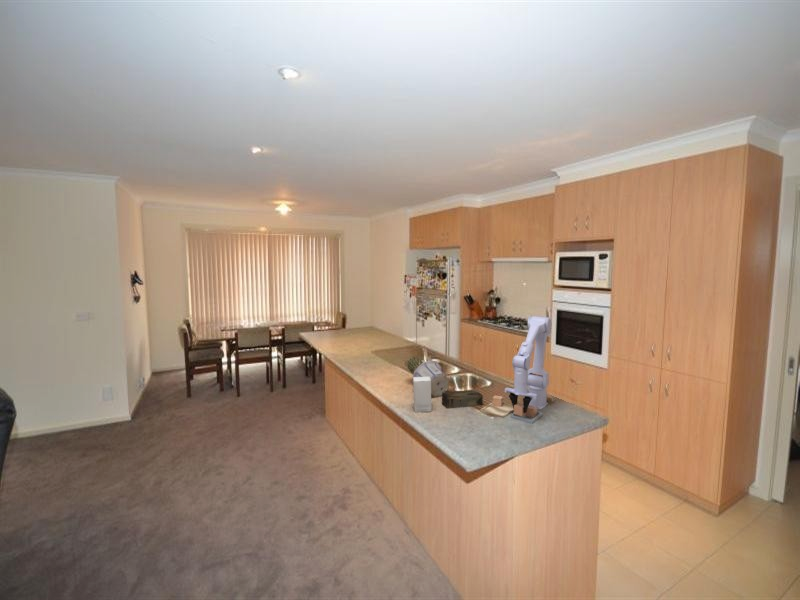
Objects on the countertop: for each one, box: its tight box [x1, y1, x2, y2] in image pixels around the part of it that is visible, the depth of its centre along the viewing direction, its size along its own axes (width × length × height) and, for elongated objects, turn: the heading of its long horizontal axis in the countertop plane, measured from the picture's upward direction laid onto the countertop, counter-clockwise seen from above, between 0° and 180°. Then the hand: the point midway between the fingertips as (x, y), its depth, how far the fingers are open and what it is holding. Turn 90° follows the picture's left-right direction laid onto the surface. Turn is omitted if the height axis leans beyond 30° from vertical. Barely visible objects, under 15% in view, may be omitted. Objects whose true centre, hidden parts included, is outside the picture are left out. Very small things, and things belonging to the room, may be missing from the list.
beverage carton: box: [441, 389, 484, 410], centre depth 192 cm, size 8×19×7 cm, turn 102°
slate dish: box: [509, 411, 543, 425], centre depth 177 cm, size 12×10×2 cm
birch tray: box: [479, 401, 514, 419], centre depth 185 cm, size 16×12×1 cm
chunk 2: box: [513, 402, 526, 416], centre depth 176 cm, size 4×4×4 cm
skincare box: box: [412, 376, 432, 413], centre depth 186 cm, size 8×7×16 cm
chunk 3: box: [525, 405, 538, 418], centre depth 178 cm, size 4×4×4 cm
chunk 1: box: [492, 394, 504, 407], centre depth 190 cm, size 4×4×4 cm
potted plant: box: [406, 356, 450, 398], centre depth 214 cm, size 18×18×30 cm
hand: (520, 411), depth 176 cm, fingers closed on chunk 2, 4 cm apart
